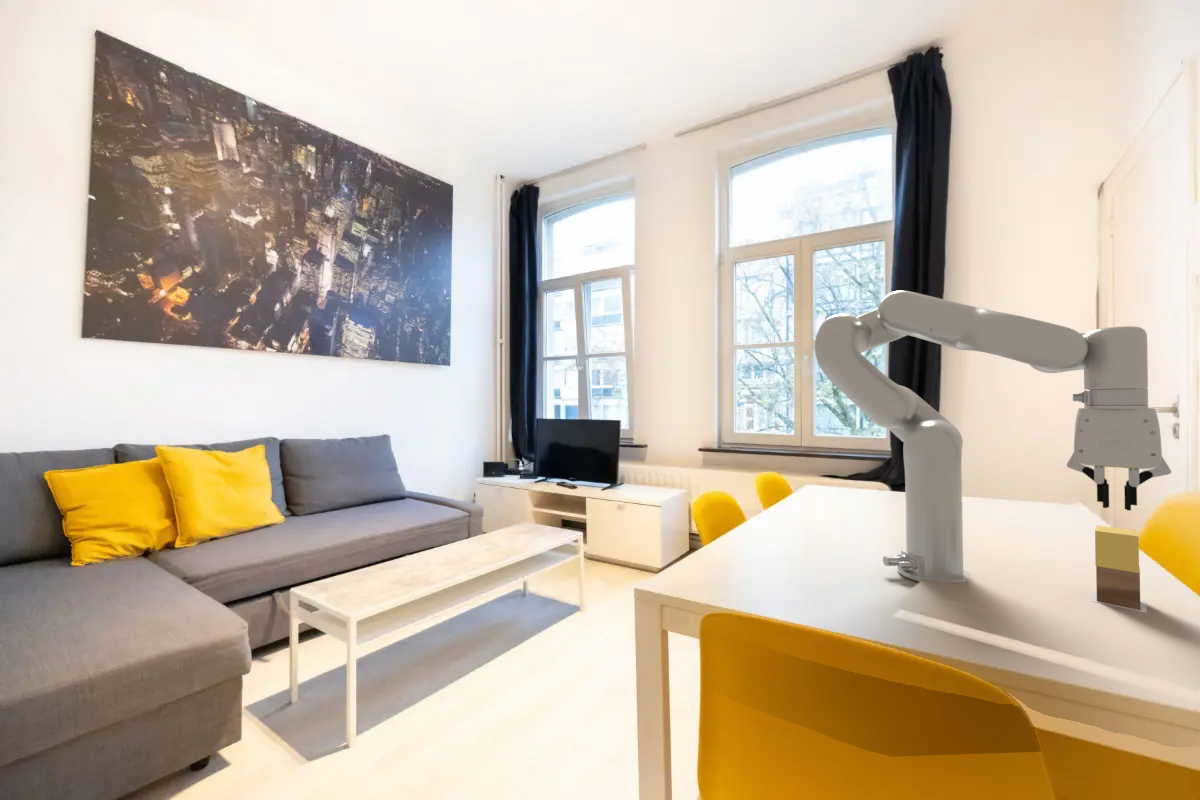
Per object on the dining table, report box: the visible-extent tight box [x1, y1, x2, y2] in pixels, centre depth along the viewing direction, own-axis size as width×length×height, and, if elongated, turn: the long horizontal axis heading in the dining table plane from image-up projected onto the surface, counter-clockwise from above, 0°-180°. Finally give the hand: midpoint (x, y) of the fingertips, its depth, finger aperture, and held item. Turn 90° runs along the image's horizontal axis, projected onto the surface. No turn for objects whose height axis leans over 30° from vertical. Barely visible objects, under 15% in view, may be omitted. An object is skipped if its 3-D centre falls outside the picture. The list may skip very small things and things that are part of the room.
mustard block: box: [1094, 525, 1140, 573], centre depth 83 cm, size 5×5×6 cm
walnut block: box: [1095, 565, 1141, 610], centre depth 83 cm, size 5×5×6 cm
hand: (1116, 507), depth 83 cm, fingers closed
